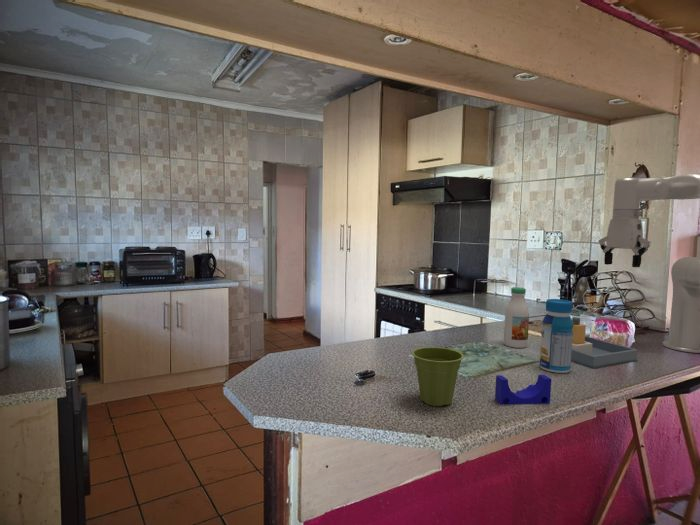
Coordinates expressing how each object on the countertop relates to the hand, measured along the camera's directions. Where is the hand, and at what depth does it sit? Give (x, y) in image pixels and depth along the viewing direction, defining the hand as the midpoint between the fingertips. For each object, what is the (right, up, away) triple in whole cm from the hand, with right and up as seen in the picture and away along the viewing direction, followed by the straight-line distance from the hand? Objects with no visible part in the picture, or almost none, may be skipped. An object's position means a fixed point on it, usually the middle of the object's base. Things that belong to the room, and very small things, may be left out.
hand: (621, 265), depth 149 cm
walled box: (-16, -29, -9) cm, 34 cm away
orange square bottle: (-22, -28, -10) cm, 37 cm away
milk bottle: (-35, -28, +2) cm, 45 cm away
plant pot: (-72, -31, -47) cm, 92 cm away
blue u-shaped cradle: (-52, -32, -45) cm, 76 cm away
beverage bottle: (-33, -30, -22) cm, 50 cm away
